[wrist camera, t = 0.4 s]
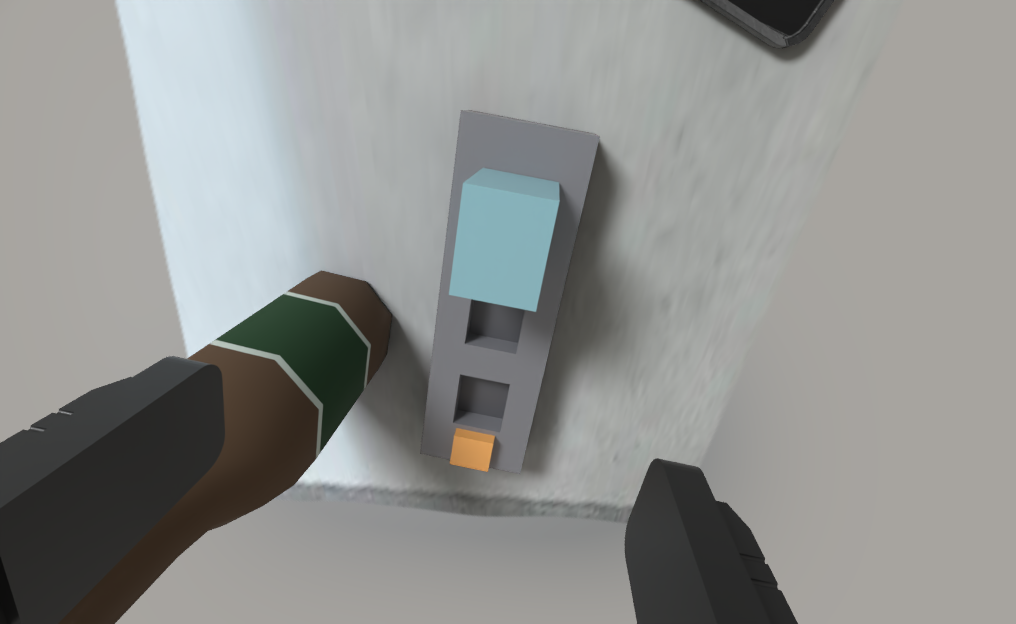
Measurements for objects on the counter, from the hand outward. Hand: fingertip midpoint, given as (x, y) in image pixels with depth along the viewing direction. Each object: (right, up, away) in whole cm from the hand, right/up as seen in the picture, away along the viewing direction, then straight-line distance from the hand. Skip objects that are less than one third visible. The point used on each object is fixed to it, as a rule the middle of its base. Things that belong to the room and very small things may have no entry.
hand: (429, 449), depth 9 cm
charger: (+2, +8, +18) cm, 20 cm away
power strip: (+1, +3, +22) cm, 22 cm away
